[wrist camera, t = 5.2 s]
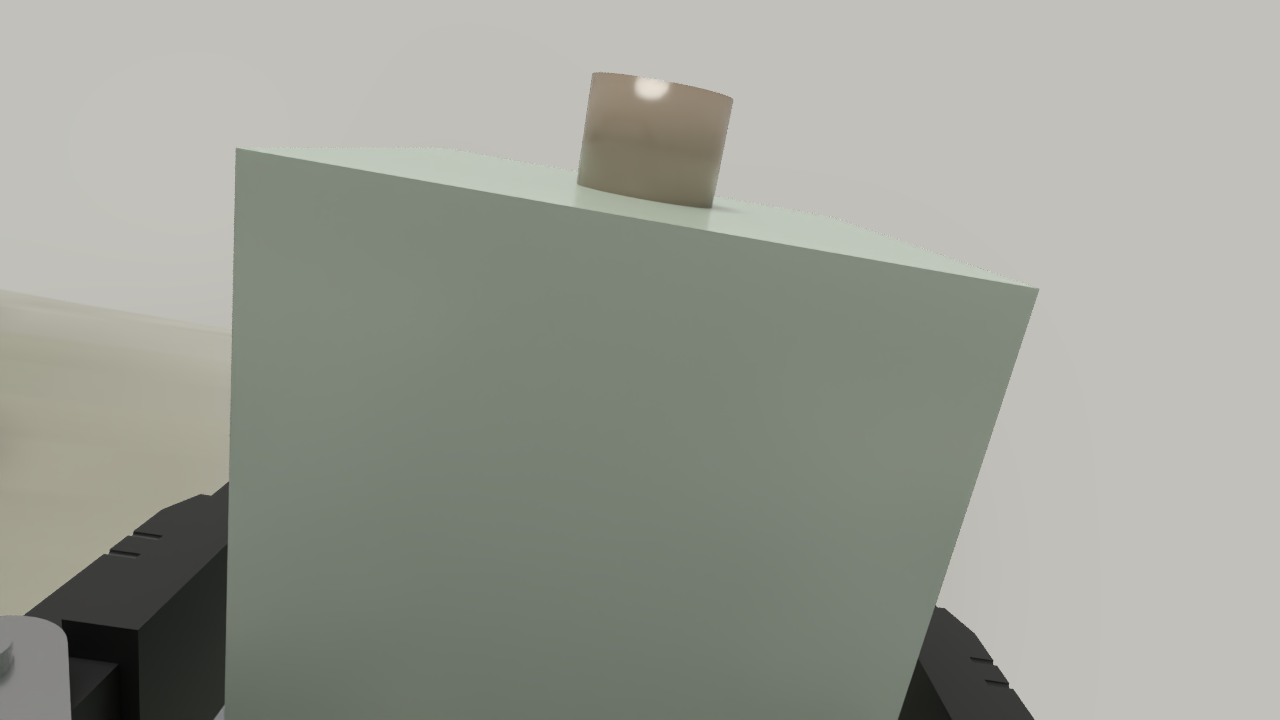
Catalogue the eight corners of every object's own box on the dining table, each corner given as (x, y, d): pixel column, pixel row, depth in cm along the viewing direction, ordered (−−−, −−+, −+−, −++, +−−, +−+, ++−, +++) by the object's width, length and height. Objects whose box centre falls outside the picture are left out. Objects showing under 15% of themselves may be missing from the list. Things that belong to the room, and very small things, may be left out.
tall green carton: (215, 1165, 9) (239, -30, 5) (387, 748, 15) (452, 65, 11) (733, 1218, 9) (1092, 131, 5) (694, 788, 15) (851, 139, 11)
